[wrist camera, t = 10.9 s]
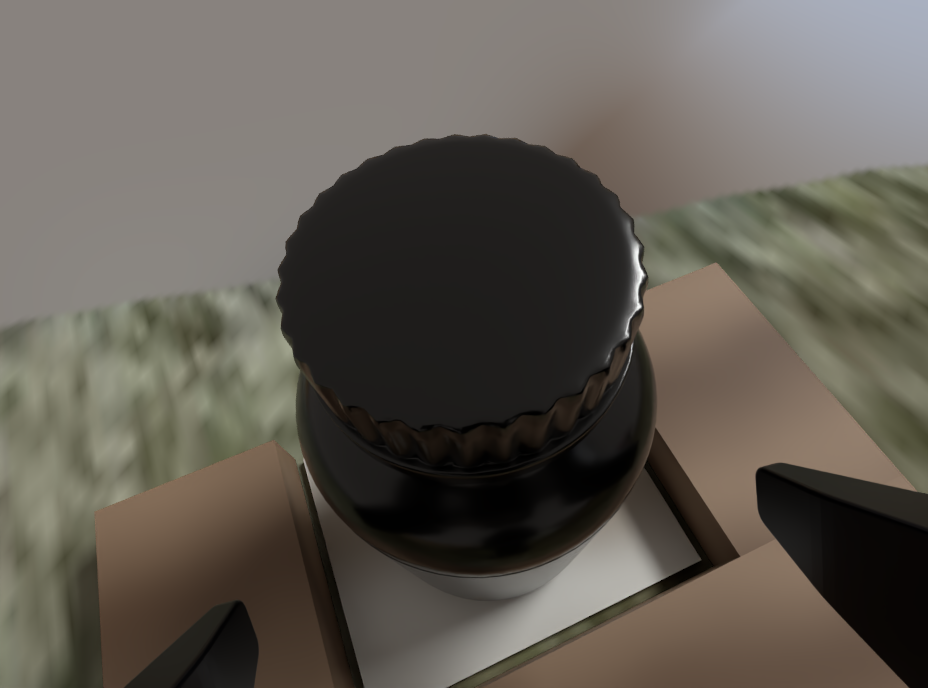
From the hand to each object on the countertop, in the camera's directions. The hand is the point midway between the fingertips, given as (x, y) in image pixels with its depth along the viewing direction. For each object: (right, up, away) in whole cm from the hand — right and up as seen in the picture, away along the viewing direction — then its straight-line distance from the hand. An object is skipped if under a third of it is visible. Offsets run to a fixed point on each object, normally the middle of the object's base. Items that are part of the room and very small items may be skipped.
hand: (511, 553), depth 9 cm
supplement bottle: (0, -1, +8) cm, 8 cm away
